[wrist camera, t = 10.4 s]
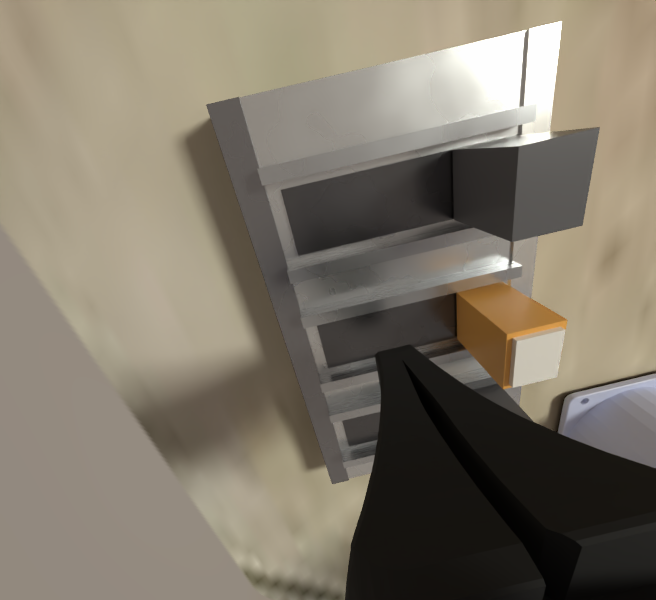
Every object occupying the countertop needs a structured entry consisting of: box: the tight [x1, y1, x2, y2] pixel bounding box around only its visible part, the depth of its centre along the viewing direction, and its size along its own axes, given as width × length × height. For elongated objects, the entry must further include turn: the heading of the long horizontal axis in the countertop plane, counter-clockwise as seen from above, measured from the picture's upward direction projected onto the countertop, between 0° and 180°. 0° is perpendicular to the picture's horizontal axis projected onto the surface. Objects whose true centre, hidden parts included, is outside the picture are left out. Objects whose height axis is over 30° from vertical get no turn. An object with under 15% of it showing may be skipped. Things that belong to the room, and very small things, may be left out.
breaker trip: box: [456, 282, 567, 389], centre depth 11 cm, size 2×2×4 cm
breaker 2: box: [473, 384, 533, 422], centre depth 14 cm, size 2×2×3 cm
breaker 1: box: [453, 127, 600, 242], centre depth 9 cm, size 2×2×3 cm
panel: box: [206, 21, 562, 484], centre depth 14 cm, size 11×19×2 cm, turn 12°
